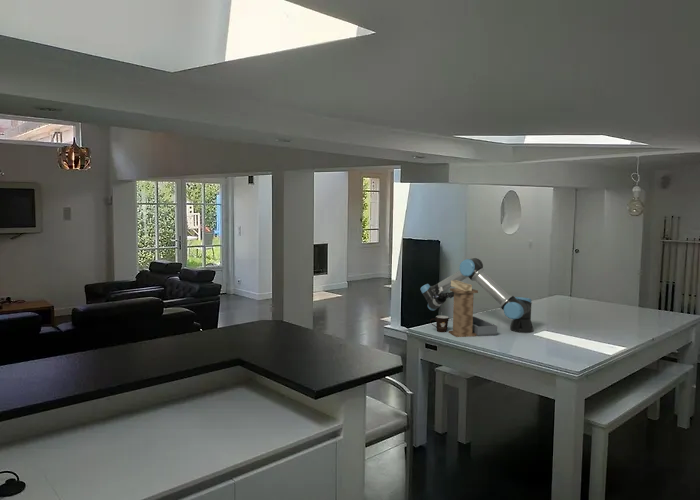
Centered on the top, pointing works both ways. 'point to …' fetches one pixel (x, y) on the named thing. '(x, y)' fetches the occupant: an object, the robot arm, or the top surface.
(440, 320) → the coffee mug
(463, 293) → the stand
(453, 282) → the batten
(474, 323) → the tray
